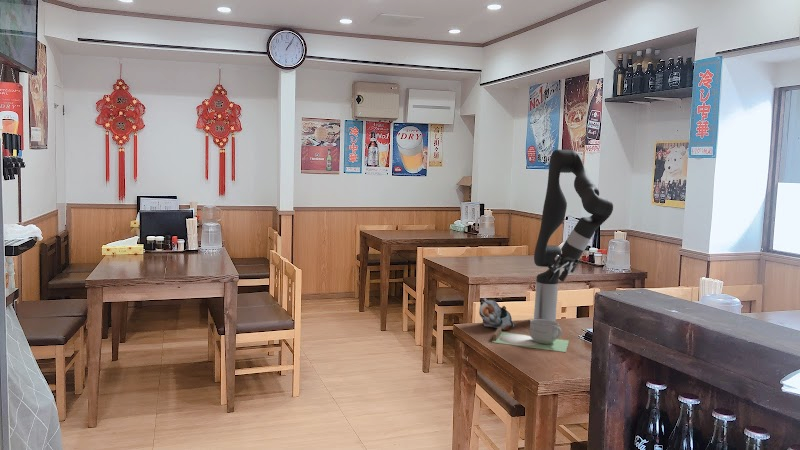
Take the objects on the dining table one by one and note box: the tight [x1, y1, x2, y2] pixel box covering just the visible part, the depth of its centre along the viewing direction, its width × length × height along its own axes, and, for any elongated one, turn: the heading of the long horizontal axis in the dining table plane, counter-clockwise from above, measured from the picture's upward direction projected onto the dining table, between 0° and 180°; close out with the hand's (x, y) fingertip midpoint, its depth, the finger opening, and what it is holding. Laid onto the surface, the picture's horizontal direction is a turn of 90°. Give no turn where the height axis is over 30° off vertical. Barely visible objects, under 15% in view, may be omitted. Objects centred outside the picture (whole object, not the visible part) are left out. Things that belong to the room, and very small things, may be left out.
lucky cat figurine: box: [478, 297, 515, 331], centre depth 255 cm, size 15×12×14 cm
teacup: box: [529, 318, 563, 344], centre depth 234 cm, size 14×11×8 cm
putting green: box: [491, 327, 570, 353], centre depth 236 cm, size 16×27×2 cm, turn 71°
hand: (554, 279), depth 237 cm, fingers open, 8 cm apart
